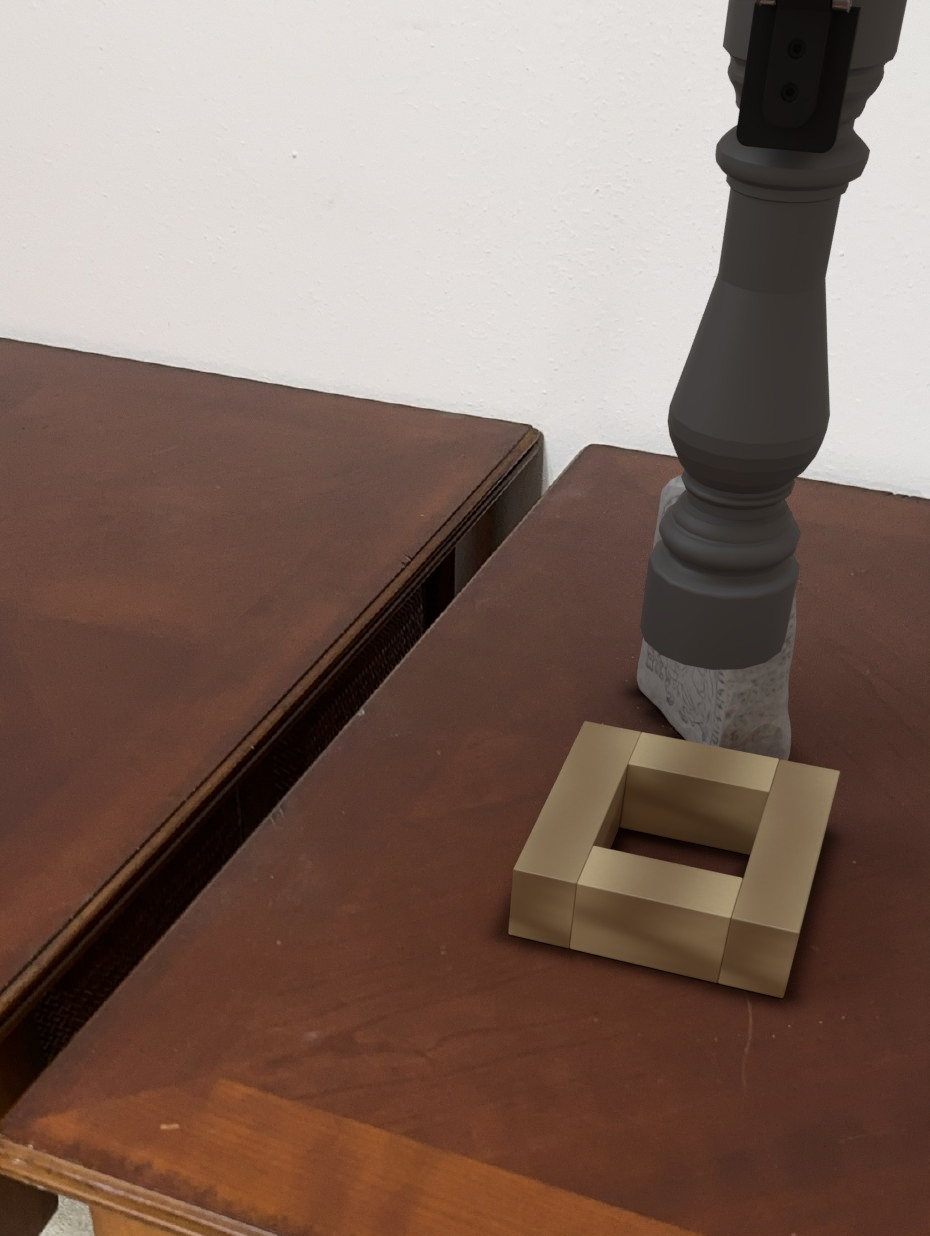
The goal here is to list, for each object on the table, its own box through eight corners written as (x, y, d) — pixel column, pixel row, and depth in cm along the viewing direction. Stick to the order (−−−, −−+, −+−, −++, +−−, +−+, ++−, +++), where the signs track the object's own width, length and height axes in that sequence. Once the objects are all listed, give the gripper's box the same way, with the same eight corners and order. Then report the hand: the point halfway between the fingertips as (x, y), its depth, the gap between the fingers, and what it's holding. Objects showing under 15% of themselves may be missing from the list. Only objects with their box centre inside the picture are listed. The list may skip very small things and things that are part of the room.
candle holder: (753, 685, 63) (892, -38, 46) (616, 644, 65) (699, -58, 48) (806, 619, 67) (953, -71, 50) (674, 583, 69) (770, -88, 52)
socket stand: (824, 834, 78) (840, 770, 76) (783, 999, 69) (799, 932, 67) (577, 784, 82) (584, 720, 79) (507, 934, 73) (513, 868, 70)
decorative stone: (612, 689, 88) (642, 436, 78) (703, 669, 90) (744, 418, 80) (706, 793, 81) (753, 528, 71) (804, 770, 82) (864, 507, 72)
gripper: (1068, -691, 33) (881, 208, 46) (1089, -632, 45) (936, 71, 57) (723, -676, 35) (634, 183, 48) (830, -623, 47) (736, 55, 59)
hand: (800, 115), depth 52 cm, fingers closed on candle holder, 5 cm apart
